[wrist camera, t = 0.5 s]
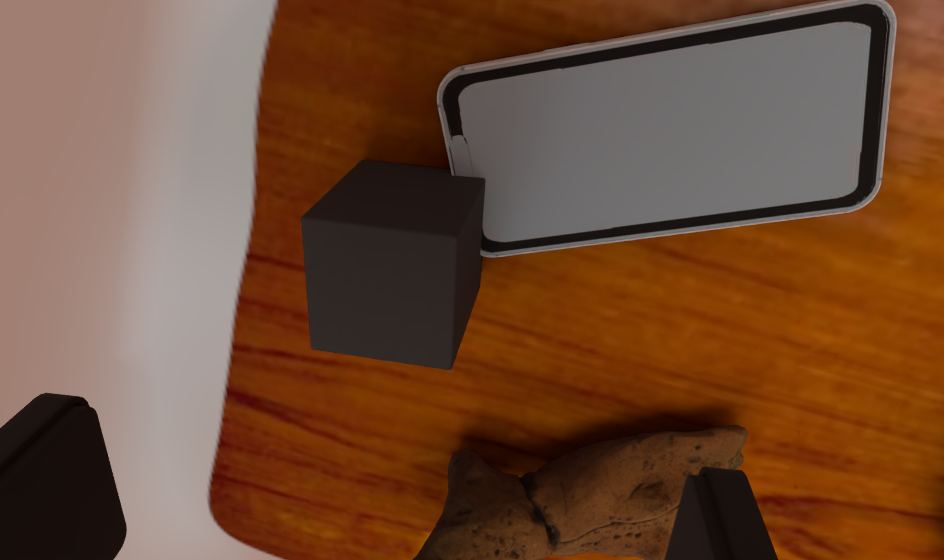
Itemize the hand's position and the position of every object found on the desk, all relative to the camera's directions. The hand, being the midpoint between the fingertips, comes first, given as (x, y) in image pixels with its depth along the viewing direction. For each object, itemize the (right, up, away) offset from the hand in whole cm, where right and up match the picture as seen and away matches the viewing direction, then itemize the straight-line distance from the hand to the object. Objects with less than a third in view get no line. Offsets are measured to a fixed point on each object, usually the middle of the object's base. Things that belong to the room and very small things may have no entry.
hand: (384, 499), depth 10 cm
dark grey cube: (-1, +6, +16) cm, 17 cm away
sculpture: (+6, -5, +21) cm, 23 cm away
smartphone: (+8, +9, +13) cm, 18 cm away
